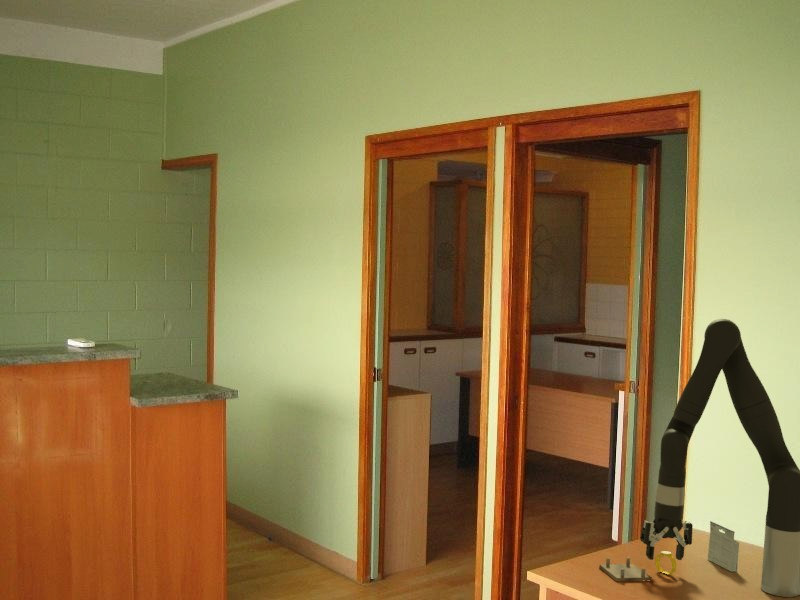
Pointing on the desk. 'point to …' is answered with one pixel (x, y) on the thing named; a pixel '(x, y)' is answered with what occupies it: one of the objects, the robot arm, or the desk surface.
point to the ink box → (723, 547)
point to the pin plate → (624, 571)
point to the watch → (666, 553)
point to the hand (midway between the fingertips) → (664, 559)
